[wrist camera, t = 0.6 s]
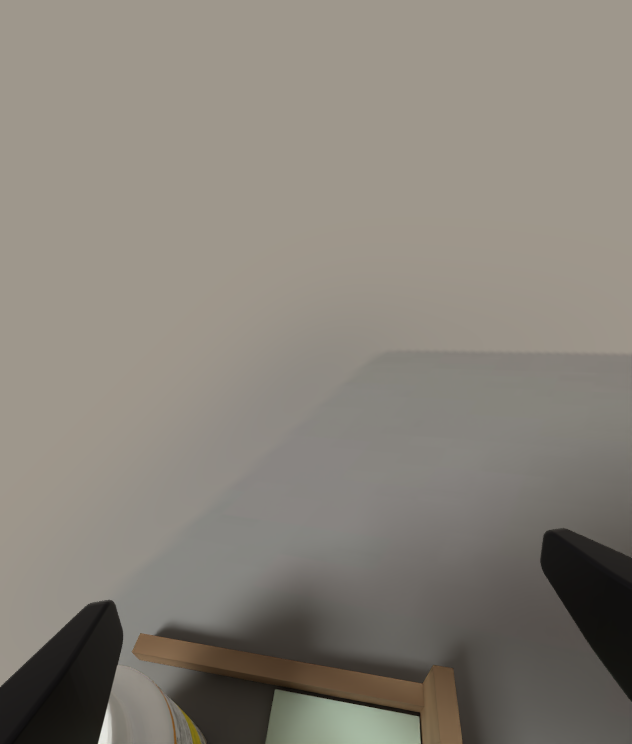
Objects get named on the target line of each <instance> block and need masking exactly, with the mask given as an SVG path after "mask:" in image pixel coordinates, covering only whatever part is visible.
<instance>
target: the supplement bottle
mask: <svg viewBox="0 0 632 744" xmlns="http://www.w3.org/2000/svg"><path fill="white" fill-rule="evenodd" d="M98 744H207V741H206V739H205V737H204V736H203V734H202V732H201V731H200V729H199V728H198V727H197V725H196V724H195V723H194V722H193V721H192V720H191V719H190V718H189V717H188V716H187V715H186V714H185V713H184V712H183V711H182V710H181V709H180V707H179V706H178V705H177V704H175V703H174V702H173V701H172V700H171V699H170V698H169V697H168V696H167V695H166V694H165V693H164V692H163V691H162V690H161V689H160V688H159V687H158V686H157V685H156V684H155V683H154V682H153V681H152V680H151V679H150V678H148V677H147V676H146V675H144V674H143V673H141V672H139V671H137V670H135V669H133V668H130V667H126V666H122V665H117V669H116V673H115V677H114V681H113V685H112V689H111V693H110V698H109V702H108V706H107V710H106V714H105V718H104V722H103V726H102V730H101V734H100V738H99V742H98Z"/></svg>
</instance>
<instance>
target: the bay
mask: <svg viewBox="0 0 632 744" xmlns="http://www.w3.org/2000/svg"><path fill="white" fill-rule="evenodd" d="M132 653H133V654H134V655H135V656H136V657H137V658H138V659H139V660H144V661H149V662H154V663H159V664H165V665H170V666H175V667H181V668H186V669H191V670H197V671H202V672H207V673H212V674H218V675H223V676H228V677H234V678H239V679H244V680H250V681H255V682H260V683H265V684H271V685H276V686H281V687H287V688H292V689H297V690H303V691H308V692H313V693H319V694H324V695H329V696H334V697H340V698H345V699H350V700H356V701H361V702H366V703H372V704H377V705H382V706H387V707H393V708H398V709H403V710H409V711H414V712H419V713H420V722H421V738H422V744H463V743H462V735H461V727H460V719H459V711H458V703H457V695H456V687H455V679H454V671H453V668H448V667H442V666H437V665H433V666H432V668H431V670H430V672H429V673H428V675H427V677H426V679H425V680H424V682H423V684H422V683H416V682H411V681H405V680H399V679H394V678H388V677H383V676H377V675H371V674H366V673H360V672H355V671H349V670H343V669H338V668H332V667H327V666H321V665H315V664H310V663H304V662H299V661H293V660H287V659H282V658H276V657H271V656H265V655H259V654H254V653H248V652H243V651H237V650H231V649H226V648H220V647H215V646H209V645H203V644H198V643H192V642H187V641H181V640H175V639H170V638H164V637H159V636H153V635H147V634H142V633H140V635H139V637H138V640H137V642H136V644H135V646H134V648H133V651H132ZM265 744H421V740H420V723H419V716H414V715H408V714H403V713H398V712H393V711H387V710H382V709H377V708H372V707H366V706H361V705H356V704H350V703H345V702H340V701H335V700H329V699H324V698H319V697H314V696H308V695H303V694H298V693H293V692H287V691H282V690H277V689H275V692H274V698H273V703H272V709H271V714H270V720H269V726H268V731H267V737H266V742H265Z"/></svg>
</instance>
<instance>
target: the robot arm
mask: <svg viewBox="0 0 632 744" xmlns="http://www.w3.org/2000/svg"><path fill="white" fill-rule="evenodd" d="M540 562H541V567H542V570H543V572H544V574H545V576H546V577H547V579H548V580H549V582H550V583H551V585H552V587H553V588H554V590H555V591H556V593H557V594H558V596H559V598H560V599H561V601H562V602H563V604H564V606H565V607H566V609H567V610H568V612H569V613H570V615H571V617H572V618H573V620H574V621H575V623H576V624H577V626H578V628H579V629H580V631H581V632H582V634H583V636H584V637H585V639H586V640H587V642H588V643H589V645H590V646H591V648H592V649H593V650H594V652H595V653H596V655H597V656H598V657H599V659H600V660H601V662H602V663H603V664H604V666H605V667H606V668H607V670H608V671H609V672H610V674H611V675H612V676H613V678H614V679H615V680H616V682H617V683H618V684H619V686H620V687H621V688H622V690H623V691H624V692H625V694H626V695H627V697H628V698H629V699H630V701H631V702H632V558H631V557H628V556H626V555H624V554H622V553H620V552H617V551H615V550H613V549H611V548H608V547H606V546H604V545H602V544H599V543H597V542H595V541H593V540H591V539H588V538H586V537H584V536H582V535H579V534H577V533H575V532H573V531H570V530H568V529H565V528H560V529H553V530H548V531H546V532H545V533H544V536H543V543H542V550H541V558H540ZM122 644H123V630H122V626H121V623H120V619H119V616H118V612H117V609H116V605H115V603H114V602H113V601H112V600H105V601H99V602H93V603H90V604H88V605H87V606H85V607H84V608H83V609H82V610H81V611H80V612H79V613H78V614H77V615H76V616H75V617H74V618H73V619H72V620H70V621H69V622H68V623H67V624H66V625H65V626H64V627H63V628H62V629H61V630H60V631H59V632H58V633H57V634H56V635H55V636H54V637H53V638H51V639H50V640H49V641H48V642H47V643H46V644H45V645H44V646H43V647H42V648H41V649H40V650H39V651H38V652H37V653H36V654H35V655H33V656H32V657H31V658H30V659H29V660H28V661H27V662H26V663H25V664H24V665H23V666H22V667H21V668H20V669H19V670H18V671H17V672H15V673H14V674H13V675H12V676H11V677H10V678H9V679H8V680H7V681H6V682H5V683H4V684H3V685H2V686H1V687H0V744H98V742H99V738H100V734H101V730H102V726H103V722H104V718H105V714H106V710H107V706H108V702H109V698H110V693H111V689H112V685H113V681H114V677H115V673H116V669H117V665H118V661H119V657H120V653H121V648H122Z"/></svg>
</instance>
